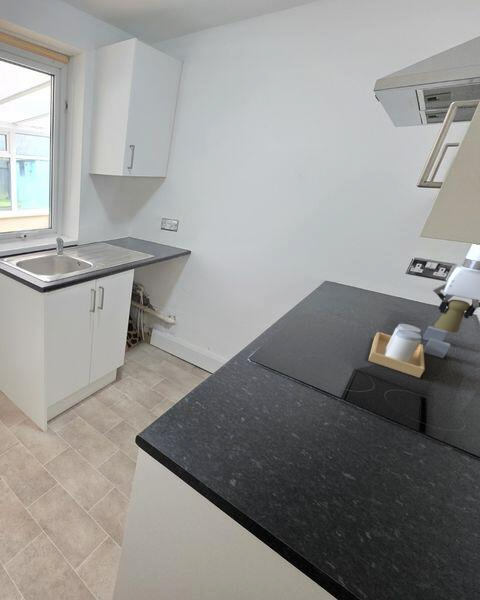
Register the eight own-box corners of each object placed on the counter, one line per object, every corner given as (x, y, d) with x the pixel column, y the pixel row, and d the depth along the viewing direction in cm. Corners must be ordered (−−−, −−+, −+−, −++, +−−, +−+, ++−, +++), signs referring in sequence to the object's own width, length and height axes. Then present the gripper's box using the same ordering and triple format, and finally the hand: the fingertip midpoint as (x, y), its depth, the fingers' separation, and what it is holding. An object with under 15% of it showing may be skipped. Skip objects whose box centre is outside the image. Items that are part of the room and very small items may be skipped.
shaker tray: (418, 352, 113) (423, 344, 112) (419, 377, 98) (424, 369, 97) (373, 339, 121) (377, 331, 120) (368, 360, 106) (372, 352, 105)
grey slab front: (442, 355, 112) (449, 343, 110) (443, 358, 110) (450, 346, 108) (423, 349, 115) (429, 338, 113) (423, 352, 113) (430, 340, 111)
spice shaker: (407, 355, 109) (422, 328, 105) (406, 362, 105) (422, 333, 101) (384, 348, 113) (398, 321, 109) (383, 354, 109) (397, 326, 105)
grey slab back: (440, 341, 122) (446, 330, 120) (440, 344, 120) (447, 332, 118) (422, 336, 125) (428, 325, 123) (422, 339, 123) (428, 328, 121)
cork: (440, 330, 112) (455, 302, 108) (430, 323, 117) (443, 296, 113) (462, 333, 110) (478, 305, 106) (451, 326, 116) (466, 299, 111)
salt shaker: (406, 362, 105) (422, 334, 101) (406, 369, 101) (422, 340, 97) (383, 355, 109) (397, 327, 104) (382, 361, 105) (396, 333, 101)
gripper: (517, 269, 102) (488, 319, 109) (441, 258, 113) (419, 304, 120) (523, 273, 97) (492, 325, 104) (443, 262, 108) (419, 309, 115)
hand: (453, 314), depth 112 cm, fingers closed on cork, 5 cm apart
